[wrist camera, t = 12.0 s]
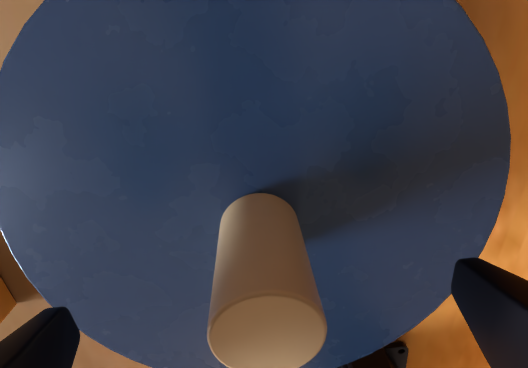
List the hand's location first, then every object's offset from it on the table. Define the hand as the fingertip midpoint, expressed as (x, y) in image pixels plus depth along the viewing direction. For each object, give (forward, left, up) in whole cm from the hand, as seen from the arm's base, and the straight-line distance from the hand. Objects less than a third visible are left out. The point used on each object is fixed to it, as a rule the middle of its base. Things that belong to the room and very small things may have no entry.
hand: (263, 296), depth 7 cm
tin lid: (0, 0, -3) cm, 3 cm away
